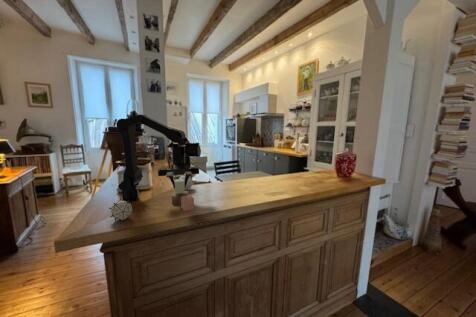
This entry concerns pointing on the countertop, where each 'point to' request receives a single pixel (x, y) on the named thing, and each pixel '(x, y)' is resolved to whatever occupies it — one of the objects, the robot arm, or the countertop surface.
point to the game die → (121, 210)
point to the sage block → (179, 185)
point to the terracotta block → (187, 202)
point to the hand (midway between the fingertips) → (179, 188)
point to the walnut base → (178, 196)
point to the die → (189, 182)
